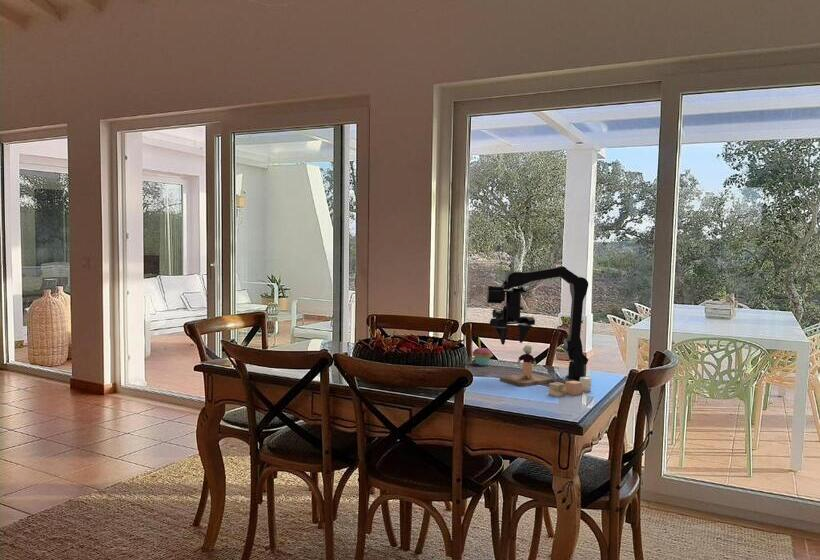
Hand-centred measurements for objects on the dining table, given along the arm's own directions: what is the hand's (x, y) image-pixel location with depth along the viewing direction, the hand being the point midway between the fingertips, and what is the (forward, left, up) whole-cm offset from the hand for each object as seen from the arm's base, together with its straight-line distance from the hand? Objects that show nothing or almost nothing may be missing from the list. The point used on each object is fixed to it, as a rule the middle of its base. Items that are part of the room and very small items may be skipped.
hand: (511, 343), depth 255 cm
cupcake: (-5, -24, -13) cm, 28 cm away
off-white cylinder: (-9, +30, -13) cm, 34 cm away
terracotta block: (-2, +31, -13) cm, 34 cm away
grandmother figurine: (0, +9, -12) cm, 15 cm away
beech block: (+5, +30, -13) cm, 33 cm away
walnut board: (0, +9, -13) cm, 16 cm away
